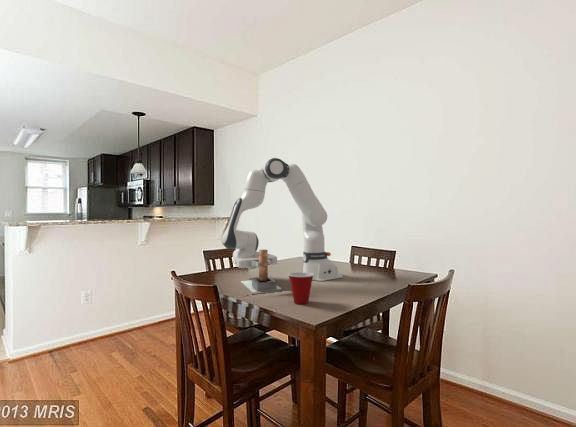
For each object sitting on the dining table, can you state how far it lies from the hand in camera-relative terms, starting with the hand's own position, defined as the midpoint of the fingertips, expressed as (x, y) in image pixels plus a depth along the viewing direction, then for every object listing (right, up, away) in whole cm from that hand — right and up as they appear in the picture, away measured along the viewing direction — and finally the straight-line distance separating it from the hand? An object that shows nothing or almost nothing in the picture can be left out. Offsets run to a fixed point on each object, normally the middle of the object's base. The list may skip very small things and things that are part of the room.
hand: (264, 263), depth 151 cm
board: (-2, -13, +7) cm, 14 cm away
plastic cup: (+16, -13, -17) cm, 27 cm away
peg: (0, -8, +1) cm, 8 cm away
